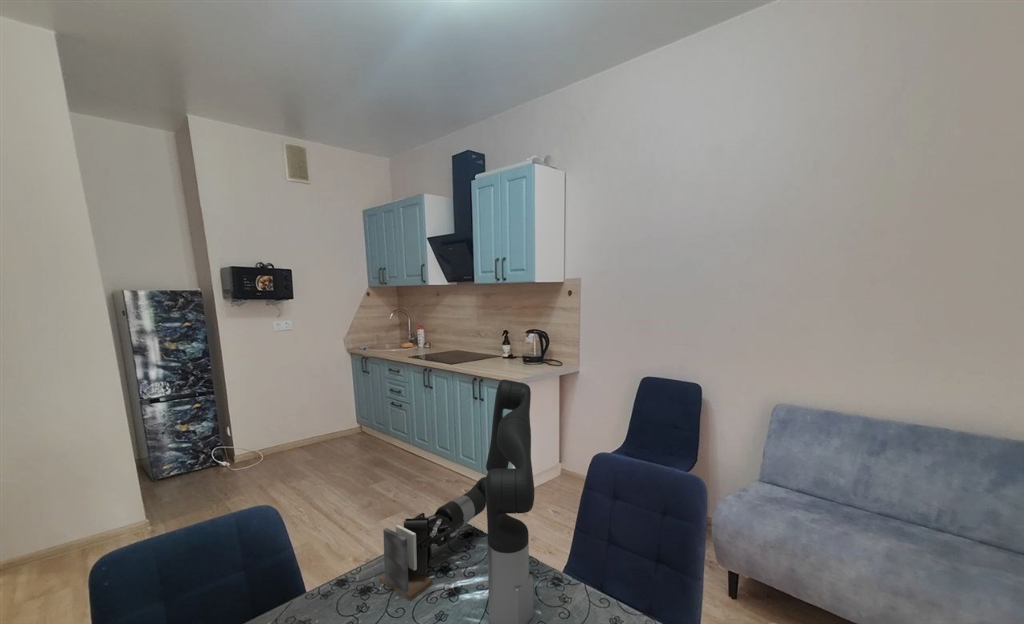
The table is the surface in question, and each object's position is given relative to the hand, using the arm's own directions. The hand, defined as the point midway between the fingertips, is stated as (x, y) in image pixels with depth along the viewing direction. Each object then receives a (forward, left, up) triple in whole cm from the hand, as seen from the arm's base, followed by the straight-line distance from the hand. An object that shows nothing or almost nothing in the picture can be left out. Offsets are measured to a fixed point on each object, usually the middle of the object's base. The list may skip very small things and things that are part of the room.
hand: (409, 542), depth 103 cm
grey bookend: (0, +1, -10) cm, 10 cm away
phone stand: (0, -2, -7) cm, 8 cm away
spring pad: (+1, +1, -8) cm, 8 cm away
